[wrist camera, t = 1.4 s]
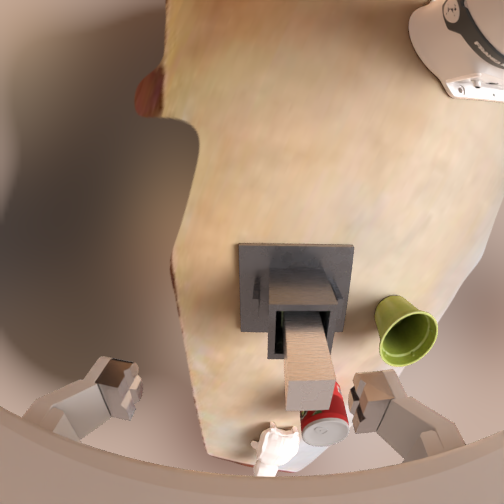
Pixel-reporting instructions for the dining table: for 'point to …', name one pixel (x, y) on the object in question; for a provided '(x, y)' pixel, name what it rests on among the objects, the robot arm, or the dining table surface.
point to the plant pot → (403, 331)
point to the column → (306, 362)
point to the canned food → (326, 422)
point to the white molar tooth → (274, 449)
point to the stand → (293, 287)
